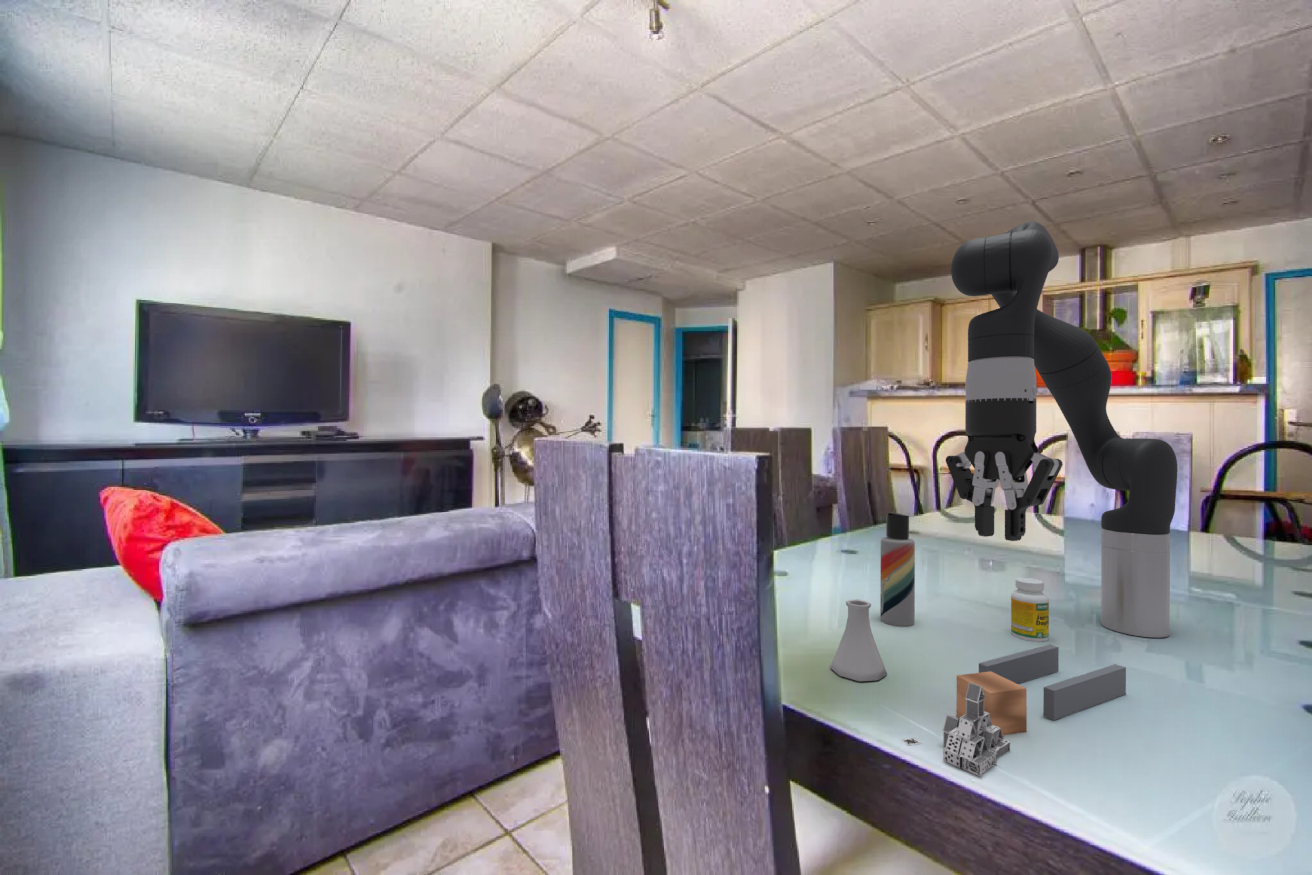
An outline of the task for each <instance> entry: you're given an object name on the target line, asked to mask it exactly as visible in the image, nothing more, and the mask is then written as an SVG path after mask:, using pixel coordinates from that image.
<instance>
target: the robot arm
mask: <svg viewBox="0 0 1312 875" xmlns="http://www.w3.org/2000/svg"><path fill="white" fill-rule="evenodd" d="M1057 247H1058V246H1057V245H1056V243H1055V241H1054V239H1053V238H1052V236H1051V233H1049V231H1048V230H1047V228H1046V227H1045V226H1044V225H1042V224H1041V223H1039V222H1037V221H1026V222H1024V223H1021V224H1018V225H1016V226H1014V227H1013V228H1011V229H1009V230H1008V231H1006V232H1004V233H1002V234H996V235H991V236H985V237H979V238H973V239H969V240H967V241H965V242H963V243H962V244H961V245H960V246H959V247H958V248H957V249H956V252H955V253H954V255H953V257H952V261H951V266H950V273H951V274H950V275H951V280H952V283H953V284H954V286H955V288H956V289H957V291H958V292H960V293H961V294H962V295H965V296H968V297H981V296H990V295H991V296H992V298H993V299H994V301H995V302H996V304H997V305H998V306H999V308H996V309H992V310H989V311H986V312H983V313H980V314H977V315H976V316H974V317H972V318H971V319H970V320H969V323H968V328H967V370H966V375H965V383H964V384H965V400H964V401H965V404H964V405H965V406H964V407H965V408H964V409H965V413H964V414H965V417H964V418H965V419H964V420H965V424H964V427H965V430H964V431H965V434H966V436H967V442H966V444H965V447H964V450H963V452H962V451H961V452H960V453H958V454H955V455H947V456H946V458H945V463H946V466H947V467H948V470H949V473H950V475H951V478H952V480H953V483H954V485H955V487H956V490H957V493H958V496H959V498H960V499H962V500H967V501H968V502H971V503H972V504H973V505H974V529H975V530H976V531H977V534H978V536H980V537H983V538H984V537H985V538H986V537H993V536H994V534H995V506H994V505H992V504H993V503H994V500H995V494H996V489H997V488H998V487H999V484H1000V488H1001V490H1002V491H1003V493H1004V498H1005V505H1006V507H1007V509H1004V539H1005V540H1006V541H1010V542H1017V541H1021V540H1022V537H1024V536H1025V534H1026V515H1027V514H1026V513H1027V510H1028V508H1030V507H1031V508H1032V507H1034V506H1042V505H1043V504H1044V503H1045V500H1047V497H1048V496H1049V493H1050V491H1051V488H1052V487H1053V485H1054V483H1055V481H1056V479H1057V477H1058V476H1059V474H1060V472H1061V469H1062V468H1063V465H1064V464H1063V461H1062V460H1061V459H1060V458H1051V457H1049V456H1046V455H1045V454H1042V453H1041V452H1039V447H1038V445H1037V443H1036V441H1035V438H1036V434H1037V394H1038V388H1037V373H1038V374H1039V376H1040V378H1041V379H1042V382H1044V384H1045V387H1046V388H1047V390H1048V391H1049V393H1050V395H1051V396H1052V397H1053V399H1054V400H1055V402H1056V404H1057V406H1058V408H1059V410H1060V411H1061V413H1062V415H1063V417H1064V418H1065V420H1066V422H1067V424H1068V427H1070V430H1071V432H1072V434H1073V436H1074V439H1075V440H1076V443H1077V445H1078V447H1079V450H1080V453H1081V455H1082V457H1083V461H1084V462H1085V464H1086V468H1087V469H1088V471H1089V473H1090V475H1092V477H1093V479H1094V480H1095V481H1096V482H1097V483H1098V484H1099V485H1101V486H1102V487H1104V488H1107V489H1110V490H1117V491H1125V492H1128V491H1129V492H1128V498H1127V502H1126V503H1125V504H1123V505H1122V506H1121V507H1117V508H1114V509H1111V510H1110V509H1109V510H1106V511H1104V512H1103V513H1102V514H1101V518H1100V520H1101V521H1100V523H1101V524H1100V527H1101V528H1100V531H1101V532H1100V533H1101V534H1100V535H1101V536H1100V538H1101V539H1100V540H1101V541H1100V544H1101V545H1100V546H1101V547H1100V548H1101V550H1100V552H1101V554H1100V555H1101V559H1100V560H1101V561H1100V563H1101V564H1100V565H1101V566H1100V569H1101V570H1100V575H1101V577H1100V578H1101V579H1100V589H1101V590H1100V592H1101V593H1100V595H1101V596H1100V598H1101V599H1100V600H1101V601H1100V621H1101V622H1100V624H1101V625H1102V626H1103V627H1104V628H1106V629H1109V630H1111V631H1114V632H1118V633H1121V634H1125V635H1130V636H1136V637H1144V638H1154V639H1155V638H1158V639H1159V638H1167V637H1169V636H1171V635H1170V630H1171V629H1170V628H1171V627H1170V626H1171V625H1170V619H1171V616H1170V615H1171V612H1170V611H1171V534H1170V533H1171V523H1172V521H1173V519H1174V517H1175V516H1174V515H1175V511H1176V497H1177V484H1178V472H1179V471H1178V459H1177V456H1176V453H1175V450H1174V449H1173V447H1172V445H1170V444H1169V443H1168V442H1166V441H1165V440H1163V439H1159V438H1123V437H1121V436H1120V435H1119V433H1117V431H1116V430H1115V428H1114V426H1113V424H1112V422H1111V421H1110V419H1109V416H1108V413H1107V412H1108V411H1107V404H1108V399H1109V394H1110V390H1111V386H1112V370H1111V368H1110V365H1109V363H1108V361H1107V359H1106V357H1105V356H1104V354H1103V351H1102V350H1101V349H1100V348H1101V347H1100V346H1099V345H1098V343H1097V341H1096V340H1095V338H1094V337H1093V336H1092V335H1091V334H1090V333H1088V332H1087V331H1086V330H1084V329H1082V328H1080V327H1078V326H1076V325H1074V324H1071V323H1069V322H1066V321H1063V320H1061V319H1059V318H1057V317H1055V316H1051V315H1049V314H1047V313H1045V312H1043V311H1042V310H1039V309H1038V306H1039V303H1040V298H1041V295H1042V292H1043V288H1044V286H1045V283H1046V280H1047V277H1048V275H1049V273H1050V272H1051V271H1053V270H1054V269H1055V268H1056V267H1057V265H1058V263H1059V256H1060V254H1059V250H1058V248H1057ZM1036 371H1037V373H1036ZM1032 465H1033V466H1032ZM1031 466H1032V467H1031ZM971 467H973V469H974V471H973V473H972V471H971ZM1030 467H1031V469H1032V471H1033V475H1032V477H1030V480H1029V482H1028V475H1027V471H1028V470H1029V469H1030Z"/></svg>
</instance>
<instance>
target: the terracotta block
mask: <svg viewBox="0 0 1312 875" xmlns="http://www.w3.org/2000/svg"><path fill="white" fill-rule="evenodd" d="M969 682H970V683H973V684H976V685H979V686H982V687H983V691H984V694H985V697H986V699H984V711H985V712H987V713H990V714H989V715H990V718H991V722H992V725H994V726H997V727H999V728H1001V732H1002V735H1003V737H1004V736H1009V735H1016V734H1022V733H1027V732H1028V731H1027V729H1028V728H1027V726H1028V725H1027V724H1028V723H1027V720H1028V719H1027V718H1028V716H1027V713H1028V712H1027V708H1028V706H1027V694H1028V693H1027V691H1028V689H1027V688H1026V687H1024V686H1023V685H1021V684H1016V683H1014V682H1012V681H1010V680H1008V679H1006V678H1004V677H1002V676H1000V675H997V674H995V673H993V672H991V671H990V672H981V673H979V672H974V673H966V674H957V675H956V717H955V718H957V719H960V717H962V716H963V715H965V714H966V699H965V698H966V694H967V690H968V686H969Z"/></svg>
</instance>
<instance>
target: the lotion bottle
mask: <svg viewBox="0 0 1312 875" xmlns="http://www.w3.org/2000/svg"><path fill="white" fill-rule="evenodd" d="M885 517H886V518H885V520H886V521H885V522H886V526H885V527H886V534H885V535H886V537H885V536H884V537H881V538H880V584H879V585H880V588H879V589H880V592H879V593H880V594H879V595H880V597H879V598H880V600H879V601H880V602H879V603H880V606H879V607H880V609H879V610H880V613H879V614H880V622H882V623H884V624H886V625H889V626H892V627H898V628H899V627H901V628H908V627H909V628H910V627H912V626H914V625H915V617H916V616H915V609H916V608H915V607H916V606H915V604H916V602H915V601H916V600H915V598H916V597H915V596H916V594H915V593H916V592H915V591H916V590H915V588H916V585H915V583H916V582H915V581H916V576H915V575H916V574H915V573H916V562H915V561H916V552H915V550H916V549H915V548H916V547H915V546H916V543H915V540H914V539H913V538H910V515H906V514H902V513H898V512H891V511H888V512H887V514H886V516H885Z"/></svg>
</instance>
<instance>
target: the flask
mask: <svg viewBox="0 0 1312 875" xmlns="http://www.w3.org/2000/svg"><path fill="white" fill-rule="evenodd" d="M845 606H847V619H846V624H845V628H844V631H843V634H842V637H841V639H840V642H839V643H838V648H837V649H836V651H835V654H834V656H833V659H832V662H831V665H830V666H829V668H830V669H831V670H833V671H834V672H835V673H836V674H837V675H839V677H844V678H846V679H849V680H853V681H856V682H869V681H870V682H871V681H880V680H881V679H882V678H883V677H885V676H886V675H888V672H887V670H886V667H885V664H884V662H883V659H882V656H881V654H880V652H879V649H878V647H877V646H878V645H877V643H876V640H875V637H874V634H873V632H872V627H871V623H870V612H869V610H870V608H871V607H872V603H871V602H869V601H867V600H862V599H848V600H846V601H845Z"/></svg>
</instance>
